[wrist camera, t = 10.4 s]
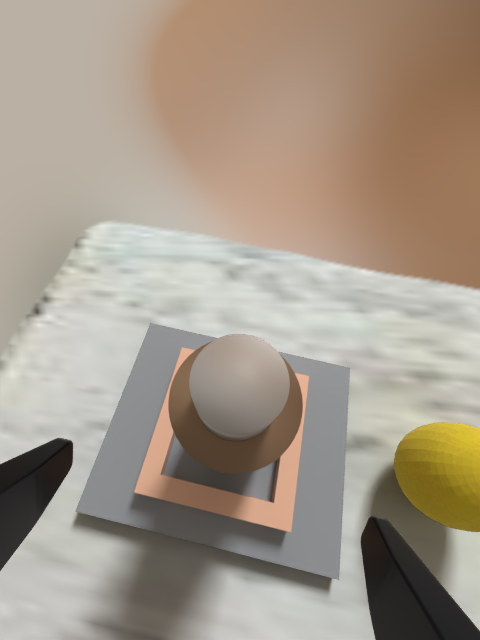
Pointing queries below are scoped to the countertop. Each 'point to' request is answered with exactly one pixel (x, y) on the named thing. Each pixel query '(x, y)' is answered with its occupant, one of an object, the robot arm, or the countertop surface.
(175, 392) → the pepper mill
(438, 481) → the lemon
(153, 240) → the countertop surface
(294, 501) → the display stand
